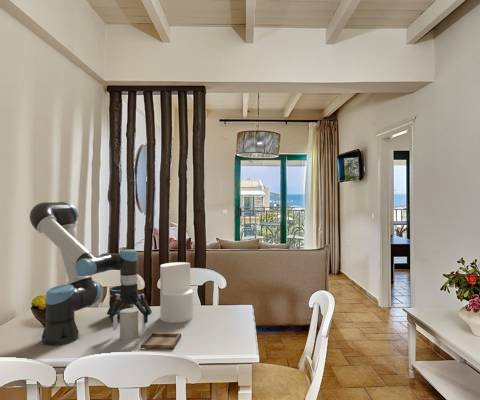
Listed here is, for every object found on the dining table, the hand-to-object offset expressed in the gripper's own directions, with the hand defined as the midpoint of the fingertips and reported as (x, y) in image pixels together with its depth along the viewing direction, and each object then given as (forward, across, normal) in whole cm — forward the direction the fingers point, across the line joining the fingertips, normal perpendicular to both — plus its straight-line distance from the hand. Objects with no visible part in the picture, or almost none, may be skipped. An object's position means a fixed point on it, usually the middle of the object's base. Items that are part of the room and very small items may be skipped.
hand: (129, 329), depth 167 cm
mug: (+3, -16, +27) cm, 32 cm away
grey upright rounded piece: (+3, 0, 0) cm, 3 cm away
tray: (+3, +17, -6) cm, 18 cm away
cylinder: (+4, +15, +29) cm, 33 cm away
